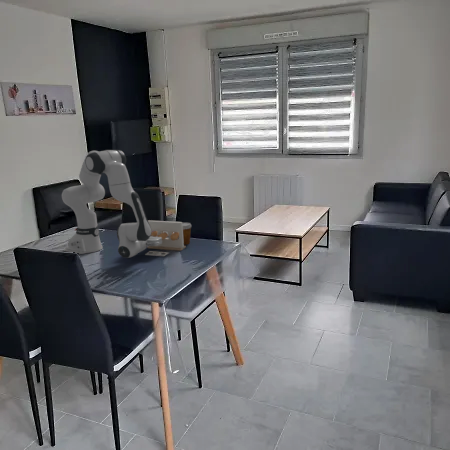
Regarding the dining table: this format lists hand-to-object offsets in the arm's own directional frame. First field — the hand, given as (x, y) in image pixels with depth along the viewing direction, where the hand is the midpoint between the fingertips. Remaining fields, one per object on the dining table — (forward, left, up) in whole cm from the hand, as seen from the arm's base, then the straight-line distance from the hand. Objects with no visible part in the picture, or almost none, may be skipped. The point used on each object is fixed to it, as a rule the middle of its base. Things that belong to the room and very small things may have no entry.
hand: (150, 236), depth 247 cm
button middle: (+7, +1, -2) cm, 7 cm away
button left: (0, +3, -2) cm, 4 cm away
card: (+7, -7, -8) cm, 13 cm away
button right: (+14, +4, -2) cm, 15 cm away
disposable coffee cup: (+14, +16, -8) cm, 23 cm away
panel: (+7, +5, -8) cm, 12 cm away
